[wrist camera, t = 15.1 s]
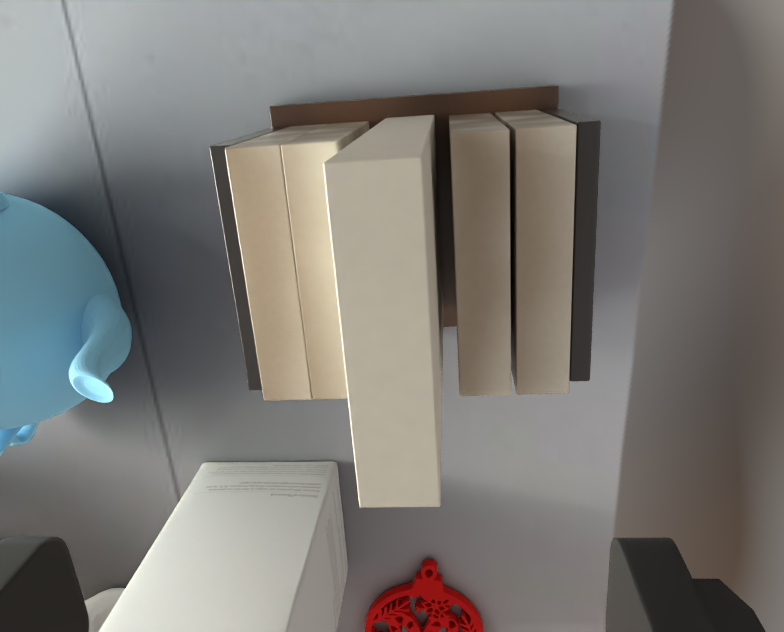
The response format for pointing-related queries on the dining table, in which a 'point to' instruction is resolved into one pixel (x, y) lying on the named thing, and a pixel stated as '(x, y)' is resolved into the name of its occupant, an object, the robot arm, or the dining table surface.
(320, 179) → the white book stand
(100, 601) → the toy
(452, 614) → the ornament
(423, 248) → the white book
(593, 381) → the dining table surface
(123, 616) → the rectangular carton
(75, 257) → the teapot
